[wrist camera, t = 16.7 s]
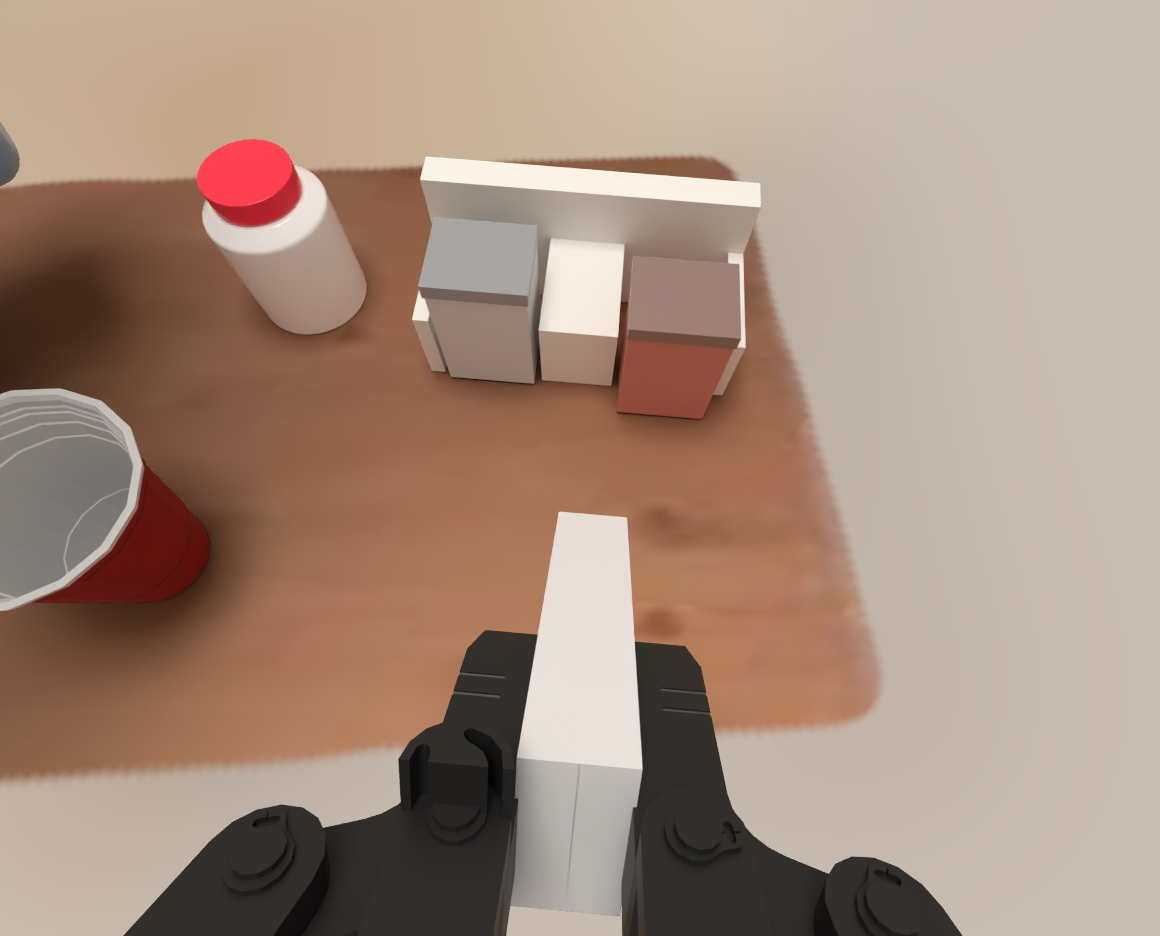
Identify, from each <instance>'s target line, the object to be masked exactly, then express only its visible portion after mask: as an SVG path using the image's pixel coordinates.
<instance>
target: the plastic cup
mask: <svg viewBox="0 0 1160 936" xmlns="http://www.w3.org/2000/svg"><path fill="white" fill-rule="evenodd" d="M209 549H210V541H209V538H208V535H207V532H206V529H205V527H204V526H203V523H202V522H201V521H200V520H199V519H198V518H197V517H195V516H194V515H193V514H192V513H191V512H190V511H189V510H188V509H187V508H186V505H185V504H184V503H183V502H182V501H181V500H180V499H179V498H178V497H177V496H176V495H175V494H174V493H173V492H172V491H171V490H170V489H169V488H168V487H167V486H166V485H165V484H164V483H163V482H162V481H161V480H160V479H159V478H158V477H157V476H156V475H155V474H154V472H153V471H152V470H151V469H150V468H149V467H148V466H147V465H146V463H145V461H144V460H143V459H142V457H141V456H140V453H139V450H138V447H137V444H136V440H135V437H134V434H133V432H132V430H131V428H130V426H128V425H127V424H126V423H125V422H124V421H123V420H122V419H121V418H120V417H119V416H117V415H116V414H115V413H114V412H113V411H112V410H111V409H110V408H109V407H108V406H107V405H105V404H104V403H103V402H102V401H100V400H97V399H93V398H90V397H87V396H84V395H80V394H77V393H74V392H71V391H68V390H64V389H61V388H56V389H32V390H11V391H8V392H5V393H2V394H0V611H4V610H12V609H17V608H19V607H22V606H24V605H26V604H29V603H31V602H45V603H102V604H104V603H114V602H126V603H143V602H153V601H160V600H166V599H168V598H170V597H172V596H174V595H176V594H179V593H181V592H183V591H185V590H186V589H187V588H188V587H189V586H190V585H191V584H192V583H193V582H194V581H195V580H196V579H197V578H198V577H199V576H200V574H201V572H202V570H203V569H204V567H205V565H206V563H207V561H208V557H209Z"/></svg>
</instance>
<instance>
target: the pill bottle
mask: <svg viewBox="0 0 1160 936" xmlns="http://www.w3.org/2000/svg"><path fill="white" fill-rule="evenodd" d="M197 184H198V187H199V189H200V192H201V193H202V194H203V196H204V197H205V199H206V200H205V202H204V205H203V211H202V220H203V225H204V228H205V230H206V232H207V234H208V236H209V237H210V238H211V240H212V241H213V243H214V244H215V245H216V247H217V248H218V249H219V251H220V252H221V253H222V255H223V256H224V257H225V259H226V260H227V261H228V263H229V264H230V265H231V267H232V268H233V270H234V271H235V272H236V274H237V275H238V276H239V278H240V279H241V280H242V282H243V283H244V284H245V286H246V287H247V288H248V290H249V291H250V292H251V294H252V295H253V296H254V298H255V299H256V301H257V302H258V303H259V305H260V306H261V307H262V309H263V310H264V311H265V313H266V314H267V315H268V317H269V318H270V319H271V320H272V322H273V323H275V324H276V325H277V326H279V327H280V328H282V329H284V330H286V331H289V332H292V333H296V334H306V335H309V334H319V333H323V332H327V331H330V330H333V329H335V328H338V327H339V326H341V325H343V324H344V323H346V322H347V321H349V320H350V319H351V318H352V317H353V316H354V315H355V314H356V313H357V312H358V310H359V309H360V308H361V306H362V304H363V302H364V300H365V296H366V293H367V283H366V278H365V275H364V273H363V271H362V269H361V266H360V264H359V262H358V260H357V258H356V256H355V253H354V251H353V249H352V247H351V245H350V242H349V240H348V238H347V236H346V234H345V231H344V229H343V227H342V225H341V223H340V220H339V218H338V216H337V214H336V212H335V209H334V207H333V205H332V203H331V201H330V198H329V196H328V194H327V192H326V190H325V188H324V186H323V184H322V183H321V182H320V180H319V179H318V178H317V177H316V176H315V175H314V174H312V173H311V172H310V171H308V170H307V169H304V168H302V167H300V166H297V165H294V164H293V163H292V161H291V159H290V157H289V155H288V154H287V153H286V151H285V150H284V149H283V148H281V147H280V146H278V145H276V144H274V143H272V142H269V141H265V140H256V139H250V140H241V141H236V142H233V143H230V144H227V145H225V146H223V147H221V148H219V149H217V150H216V151H214V152H213V153H211V154H210V155H209V156H208V157H207V158H206V159H205V161H204V162H203V163H202V164H201V166H200V169H199V171H198V175H197Z"/></svg>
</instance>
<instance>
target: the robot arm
mask: <svg viewBox="0 0 1160 936" xmlns="http://www.w3.org/2000/svg"><path fill="white" fill-rule="evenodd" d="M19 159H20V158H19V154H18V151H17V148H16V146H15V144H14V142H13V141H12V139H11V138H10V136H9V134H8V133H7V131H6V130H5V128H4V127H3V125H2V124H1V123H0V186H2V185H4V184H6V183H8V182H10V181H11V180H12V179H13V178H14V177H15V175H16V173H17V172H18V170H19ZM399 775H400V776H399V777H400V796H401V803H399V804H398V805H397V806H395V807H393V808H391V809H389V810H387V811H386V812H384V813H382V814H379V815H376V816H372V817H369V818H366V819H362V820H358V821H353V822H349V823H344V824H340V825H334V826H330V827H325V828H323V827H322V826H321V823H320V821H319V819H318V817H316V816H315V815H313V814H312V813H310V812H308V811H307V810H306V809H304V808H302V807H295V806H287V805H278V806H273V807H268V808H263V809H258V810H255V811H253V812H252V813H250V814H247V815H246V816H244V817H241V818H239V819H237V820H236V821H233V822H232V823H231V824H230V825H228V826H227V827H226V828H225V829H224V830H223V831H221V832H220V833H219V834H218V835H217V836H215V837H214V838H213V839H212V840H211V841H210V842H209V843H208V844H207V845H206V846H205V847H204V848H203V849H202V851H201V852H200V853H199V854H198V855H197V856H196V857H195V858H194V859H193V860H192V861H191V863H190V864H189V865H188V866H187V867H186V868H185V869H184V870H183V871H182V872H181V874H180V875H179V876H178V877H177V878H176V879H175V880H174V881H173V882H172V883H171V884H170V885H169V887H168V888H167V889H166V890H165V891H164V892H163V893H162V894H161V895H160V896H159V898H157V900H156V901H155V902H154V903H153V904H152V905H151V906H150V907H149V908H148V910H146V912H145V913H144V914H143V915H142V916H141V917H140V918H139V919H138V920H137V921H136V923H135V924H134V925H133V926H132V927H131V928H130V929H129V930H128V931H127V932H126V934H125V935H124V936H506V930H507V924H508V917H509V909H510V906H519V907H529V908H540V909H550V910H560V911H572V912H581V913H592V914H603V915H613V916H620V910H621V904H622V936H962V935H961V933H960V932H959V930H958V929H957V928H956V926H955V925H954V923H953V922H952V920H951V919H950V918H949V916H948V915H947V913H946V912H945V910H944V909H943V908H942V906H941V905H940V904H939V903H938V902H937V901H936V900H935V899H934V897H933V896H932V895H931V894H930V893H929V892H928V891H927V890H926V889H925V887H924V886H923V885H922V884H921V883H919V882H918V881H917V880H915V879H914V878H912V877H911V876H909V875H908V874H907V873H905V872H904V871H902V870H901V869H900V868H898V867H896V866H894V865H891V864H888V863H886V862H883V861H881V860H878V859H876V858H869V857H850V858H848V859H845V860H843V861H841V862H838V863H836V864H835V865H834V867H833V869H832V870H831V872H830V873H829V874H827V873H825V872H822V871H820V870H818V869H815V868H813V867H810V866H808V865H805V864H803V863H800V862H798V861H796V860H793V859H790V858H788V857H786V856H784V855H782V854H780V853H778V852H776V851H774V850H772V849H770V848H768V847H767V846H766V845H765V844H763V843H762V842H761V841H759V840H758V839H757V838H755V837H754V836H753V835H752V834H751V833H750V832H749V831H748V830H747V828H746V827H745V825H744V823H743V822H742V820H741V819H740V818H739V817H738V816H737V815H736V813H735V812H734V810H733V809H732V806H731V803H730V800H729V797H728V794H727V790H726V785H725V780H724V776H723V771H722V766H721V761H720V757H719V752H718V747H717V742H716V737H715V732H714V728H713V723H712V718H711V716H710V708H709V704H708V699H707V696H706V689H705V684H704V680H703V675H702V670H701V667H700V666H699V664H698V663H697V662H696V660H695V659H694V658H693V656H692V655H691V654H690V652H689V651H688V650H687V648H686V647H685V646H678V645H667V644H656V643H645V642H635V640H634V624H633V608H632V592H631V576H630V560H629V544H628V528H627V518H626V517H614V516H603V515H592V514H580V513H569V512H559V515H558V521H557V526H556V532H555V538H554V544H553V550H552V556H551V561H550V567H549V573H548V579H547V585H546V591H545V596H544V602H543V608H542V614H541V620H540V626H539V631H538V635H534V634H523V633H512V632H501V631H490V630H485V631H484V632H483V633H482V634H481V635H480V636H479V637H478V638H477V639H476V640H475V641H474V642H473V643H472V644H471V645H470V646H469V647H468V648H467V651H466V654H465V657H464V660H463V663H462V666H461V669H460V675H458V678H457V681H456V684H455V687H454V692H453V695H452V696H451V700H450V703H449V706H448V709H447V712H446V715H445V718H444V721H443V723H440V724H438V725H435V726H432V727H430V728H427V729H425V730H424V731H423V732H422V733H420V734H419V735H418V736H416V737H415V738H414V739H412V740H411V741H410V742H409V743H408V745H407V746H406V748H405V750H404V751H403V753H402V754H401V756H400V757H399Z"/></svg>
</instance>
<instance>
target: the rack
mask: <svg viewBox="0 0 1160 936" xmlns="http://www.w3.org/2000/svg"><path fill="white" fill-rule="evenodd" d="M420 181H421V185H422V189H423V192H424V196H425V200H426V203H427V207H428V211H429V215H430V218H431V222H432V225H433V221H434V217H442V218H454V219H466V220H479V221H491V222H503V223H515V224H527V225H538V244H537V254H538V270H539V287H540V295H543V301H542V309H541V316H540V324H539V344H540V358H541V372H542V380H546V381H557V382H569V383H581V384H593V385H605V386H611V384H612V377H613V370H614V362H615V355H616V348H617V341H618V330H619V316H620V302H628V300H629V293H630V285H631V269H632V261H633V255H634V256H646V257H658V258H670V259H682V260H694V261H707V262H719V263H731V264H739V266H740V308H741V340H740V342H739V345H738V347H737V349H734V350H733V352H732V354H731V357H730V359H729V361H728V363H727V365H726V367H725V370H724V372H723V374H722V376H721V378H720V381H719V383H718V385H717V387H716V389H715V392H714V394H713V395H723V393H724V391H725V389H726V387H727V385H728V383H729V381H730V379H731V377H732V375H733V373H734V371H735V369H736V366H737V364H738V362H739V360H740V358H741V356H742V354H743V352H744V350H745V348H746V346H745V308H744V271H743V253H744V250H745V248H746V245H747V243H748V240H749V237H750V235H751V232H752V229H753V227H754V224H755V222H756V219H757V216H758V213H759V211H760V209H761V198H760V183H750V182H737V181H725V180H712V179H700V178H687V177H675V176H663V175H650V174H638V173H625V172H613V171H600V170H588V169H576V168H563V167H551V166H538V165H526V164H513V163H501V162H489V161H476V160H464V159H463V160H462V159H451V158H439V157H426V159H425V163H424V166H423V170H422V174H421V178H420ZM412 321H413V324H414V326H415V329H416V331H417V334H418V337H419V339H420V342H421V344H422V347H423V349H424V352H425V355H426V357H427V360H428V362H429V365H430V368H431V370H432V371H439V372H446V367H447V364H446V361H445V358H444V355H443V352H442V349H441V346H440V343H439V340H438V337H437V334H436V331H435V328H434V325H433V322H432V319H431V316H430V313H429V310H428V308H427V305H426V302H425V299H424V298H422V297H421V294H420V291H419V292H418V297H417V301H416V305H415V309H414V314H413V318H412Z"/></svg>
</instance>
